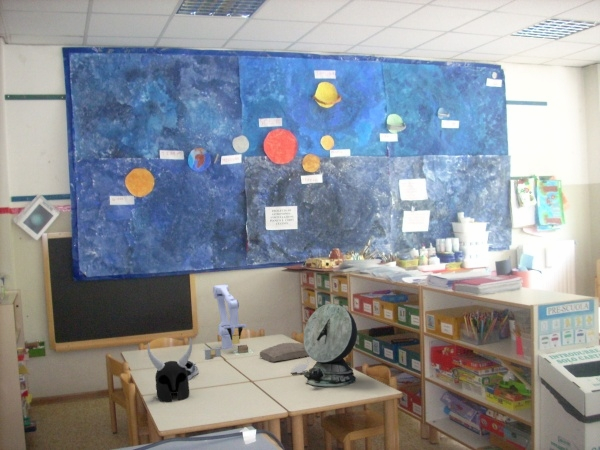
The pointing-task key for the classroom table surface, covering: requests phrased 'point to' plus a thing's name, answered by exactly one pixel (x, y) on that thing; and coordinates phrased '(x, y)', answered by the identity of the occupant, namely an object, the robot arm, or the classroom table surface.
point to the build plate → (243, 353)
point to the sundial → (330, 345)
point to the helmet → (171, 376)
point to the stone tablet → (284, 352)
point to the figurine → (300, 368)
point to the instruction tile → (212, 353)
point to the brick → (235, 339)
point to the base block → (242, 349)
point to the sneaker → (191, 369)
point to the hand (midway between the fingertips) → (235, 339)
